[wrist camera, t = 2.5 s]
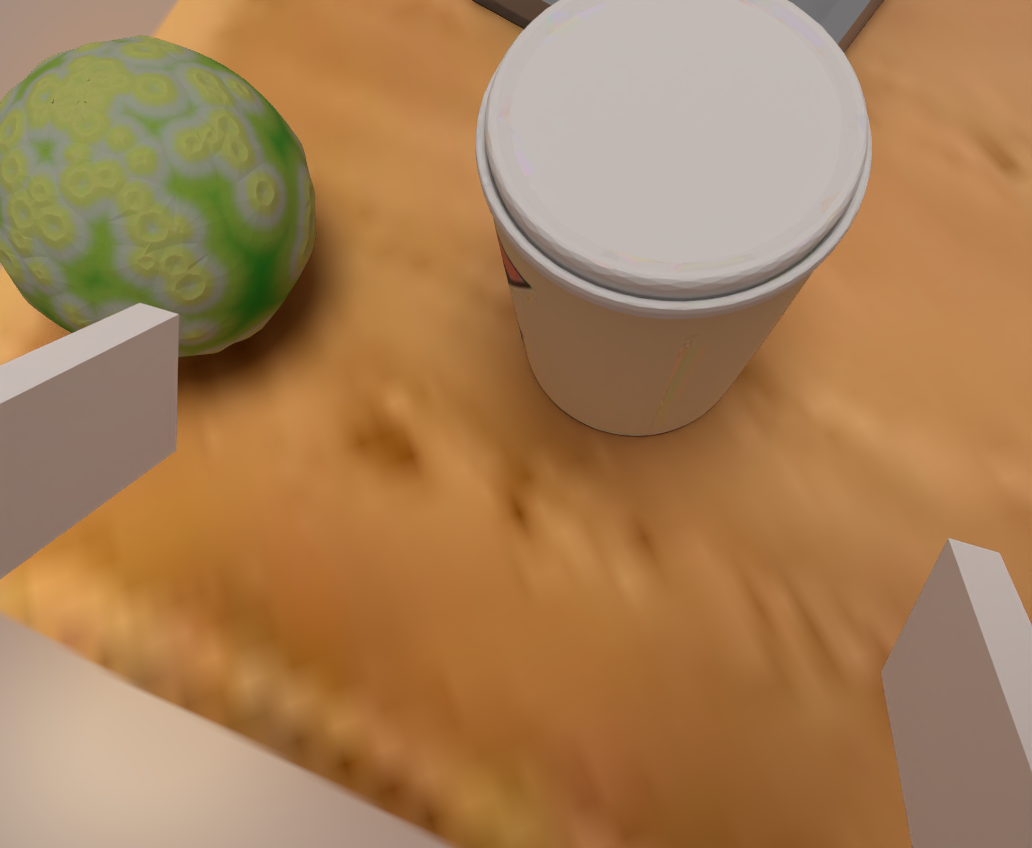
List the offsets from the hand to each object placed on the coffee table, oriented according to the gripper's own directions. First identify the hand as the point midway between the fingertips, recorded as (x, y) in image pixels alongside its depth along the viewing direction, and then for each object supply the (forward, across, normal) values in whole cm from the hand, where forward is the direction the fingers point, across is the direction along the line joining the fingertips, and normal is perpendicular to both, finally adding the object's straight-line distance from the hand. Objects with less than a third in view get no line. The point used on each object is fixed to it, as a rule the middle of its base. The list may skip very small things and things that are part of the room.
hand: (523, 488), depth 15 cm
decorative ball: (+16, -15, -5) cm, 23 cm away
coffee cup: (+18, 0, -3) cm, 18 cm away
